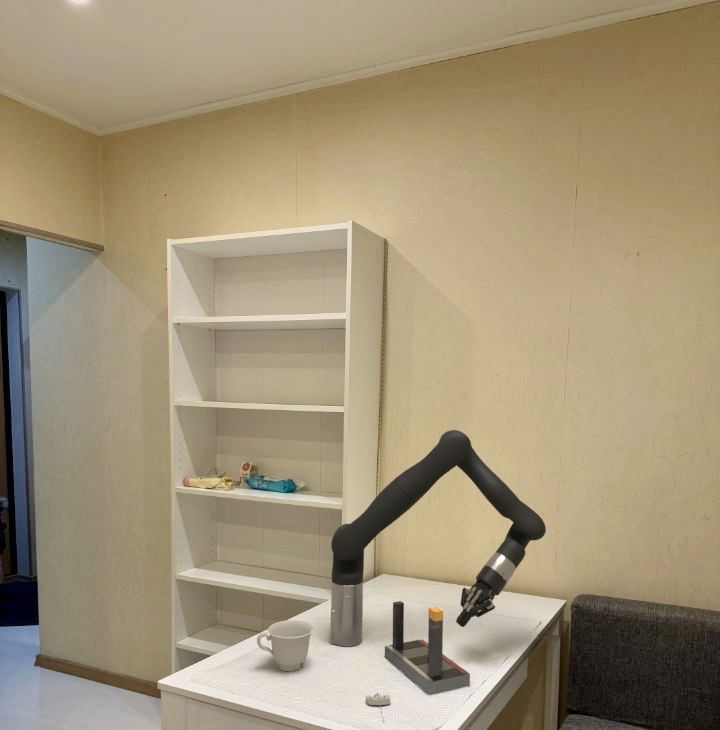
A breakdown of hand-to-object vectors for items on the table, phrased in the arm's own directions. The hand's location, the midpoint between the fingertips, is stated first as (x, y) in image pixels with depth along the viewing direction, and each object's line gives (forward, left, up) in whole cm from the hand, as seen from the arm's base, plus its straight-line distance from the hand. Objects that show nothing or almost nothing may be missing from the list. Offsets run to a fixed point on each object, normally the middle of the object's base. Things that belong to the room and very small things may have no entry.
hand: (459, 624), depth 170 cm
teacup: (-47, -3, -11) cm, 48 cm away
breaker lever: (-7, -3, -7) cm, 10 cm away
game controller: (-22, -24, -11) cm, 35 cm away
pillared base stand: (-10, -4, -10) cm, 15 cm away
